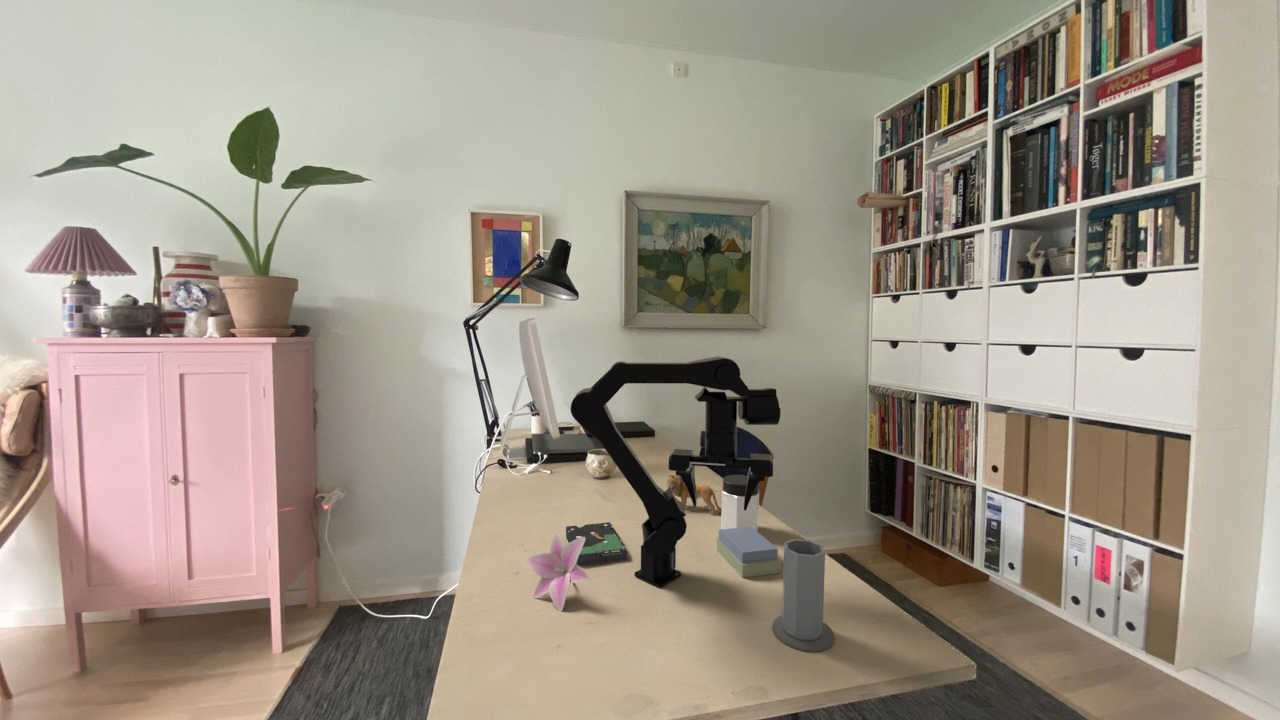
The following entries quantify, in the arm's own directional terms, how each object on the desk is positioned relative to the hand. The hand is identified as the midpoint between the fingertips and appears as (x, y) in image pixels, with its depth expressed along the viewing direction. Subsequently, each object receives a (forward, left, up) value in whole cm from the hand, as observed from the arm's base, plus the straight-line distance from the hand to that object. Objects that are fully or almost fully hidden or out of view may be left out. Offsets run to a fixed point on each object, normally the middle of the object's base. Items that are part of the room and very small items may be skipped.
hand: (719, 507), depth 93 cm
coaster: (-6, -19, -13) cm, 24 cm away
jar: (+21, +8, -13) cm, 26 cm away
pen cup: (-6, -19, -13) cm, 24 cm away
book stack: (+9, -1, -13) cm, 16 cm away
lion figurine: (+24, +24, -13) cm, 37 cm away
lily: (-25, +16, -13) cm, 33 cm away
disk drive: (-8, +26, -14) cm, 30 cm away
